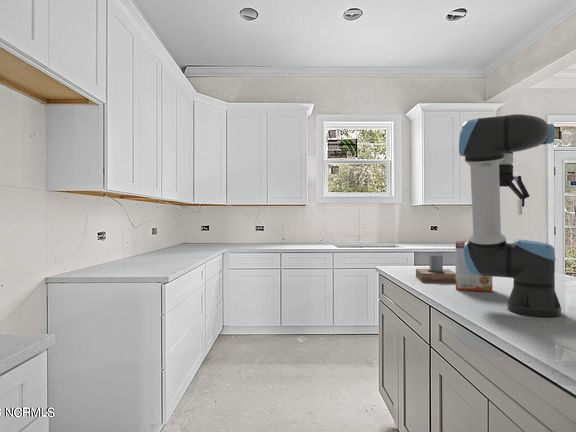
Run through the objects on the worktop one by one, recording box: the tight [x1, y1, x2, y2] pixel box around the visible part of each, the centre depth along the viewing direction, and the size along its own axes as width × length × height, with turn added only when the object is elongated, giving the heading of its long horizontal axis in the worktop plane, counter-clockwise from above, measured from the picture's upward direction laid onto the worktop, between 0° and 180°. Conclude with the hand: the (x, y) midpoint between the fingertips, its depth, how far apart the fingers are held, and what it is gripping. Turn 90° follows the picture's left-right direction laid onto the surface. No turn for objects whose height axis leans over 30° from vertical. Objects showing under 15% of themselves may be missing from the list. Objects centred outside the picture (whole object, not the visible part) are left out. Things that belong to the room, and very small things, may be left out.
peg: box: [429, 253, 444, 273], centre depth 195 cm, size 5×5×12 cm
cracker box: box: [455, 239, 493, 293], centre depth 170 cm, size 14×6×21 cm, turn 68°
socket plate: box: [415, 268, 456, 284], centre depth 195 cm, size 16×16×4 cm
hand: (502, 214), depth 172 cm, fingers open, 13 cm apart
